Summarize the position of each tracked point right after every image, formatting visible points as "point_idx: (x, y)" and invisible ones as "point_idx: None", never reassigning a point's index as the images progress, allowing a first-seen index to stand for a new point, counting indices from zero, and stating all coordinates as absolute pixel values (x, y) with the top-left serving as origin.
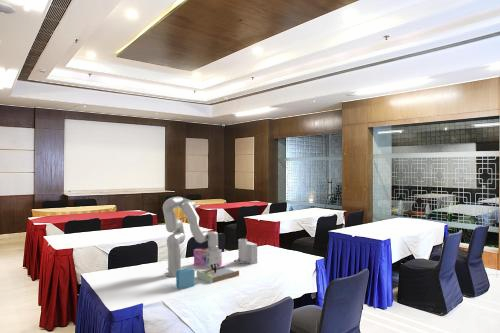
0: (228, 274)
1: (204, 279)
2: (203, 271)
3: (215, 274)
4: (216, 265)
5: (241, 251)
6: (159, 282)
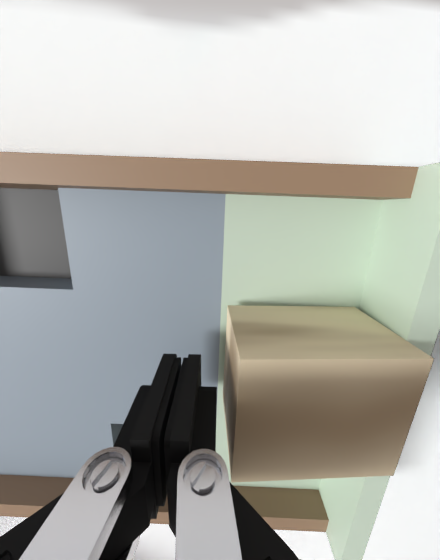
0: (5, 155)
1: None
2: None
3: None
4: (76, 507)
5: None
6: None
